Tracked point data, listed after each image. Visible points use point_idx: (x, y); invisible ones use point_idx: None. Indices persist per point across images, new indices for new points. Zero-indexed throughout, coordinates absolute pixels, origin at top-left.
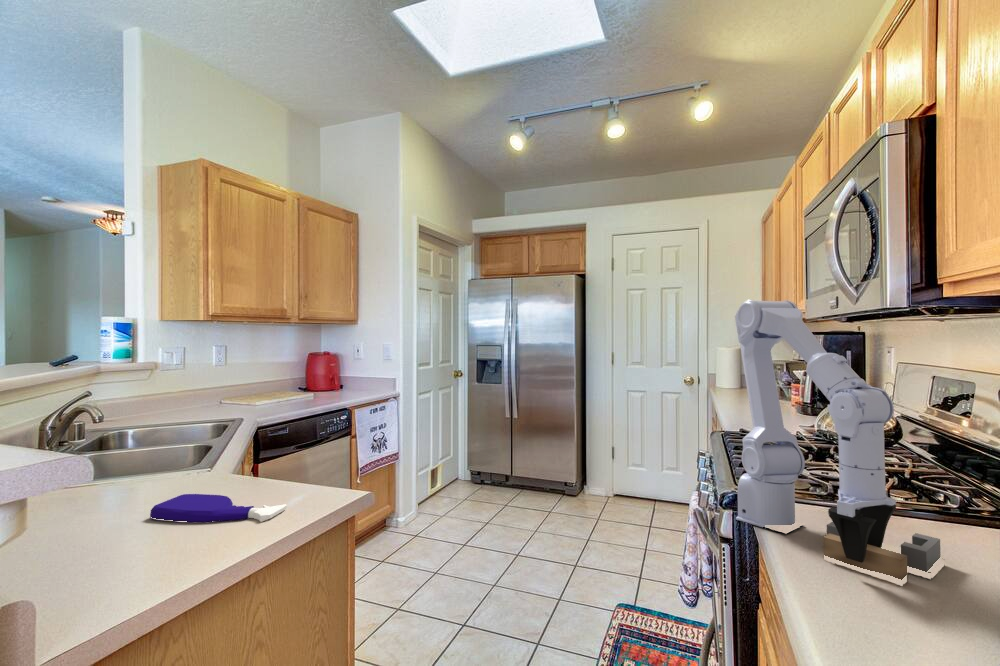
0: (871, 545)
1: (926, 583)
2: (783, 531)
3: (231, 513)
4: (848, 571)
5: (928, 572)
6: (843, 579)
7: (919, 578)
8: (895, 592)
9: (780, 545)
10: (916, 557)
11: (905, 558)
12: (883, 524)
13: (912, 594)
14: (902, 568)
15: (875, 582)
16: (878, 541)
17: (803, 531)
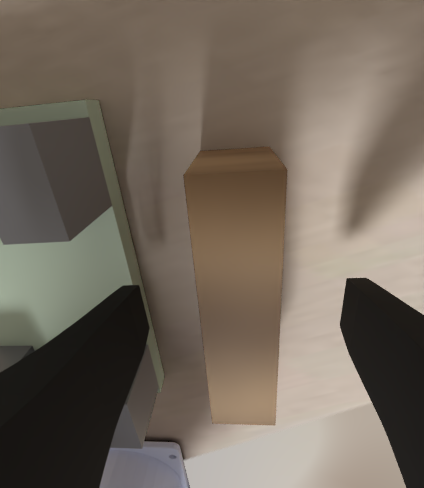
0: (202, 312)
1: (149, 100)
2: None
3: None
4: (290, 289)
5: (86, 111)
6: (376, 277)
7: (125, 135)
8: (353, 140)
9: (259, 428)
10: (72, 164)
11: (213, 170)
12: (64, 373)
13: (319, 93)
14: (264, 160)
15: (313, 213)
16: (125, 310)
17: None
